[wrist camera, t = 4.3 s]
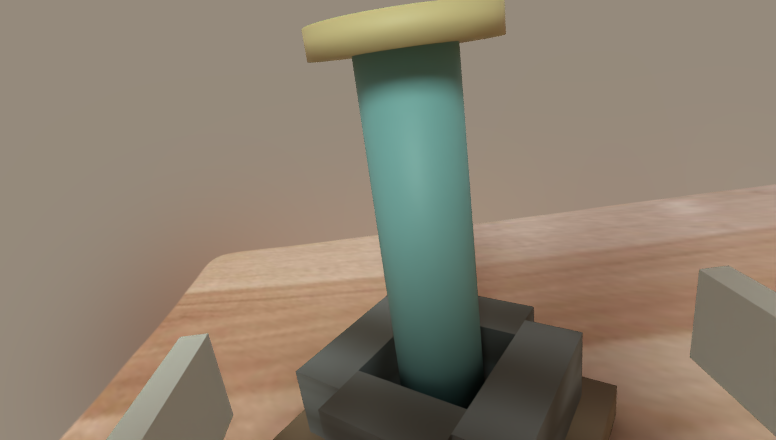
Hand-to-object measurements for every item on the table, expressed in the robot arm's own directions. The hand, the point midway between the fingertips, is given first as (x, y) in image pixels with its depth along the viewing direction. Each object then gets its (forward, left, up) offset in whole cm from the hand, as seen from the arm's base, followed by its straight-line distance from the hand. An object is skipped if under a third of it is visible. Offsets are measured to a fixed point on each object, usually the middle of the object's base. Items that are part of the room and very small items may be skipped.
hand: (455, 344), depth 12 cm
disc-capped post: (-8, -5, -11) cm, 14 cm away
